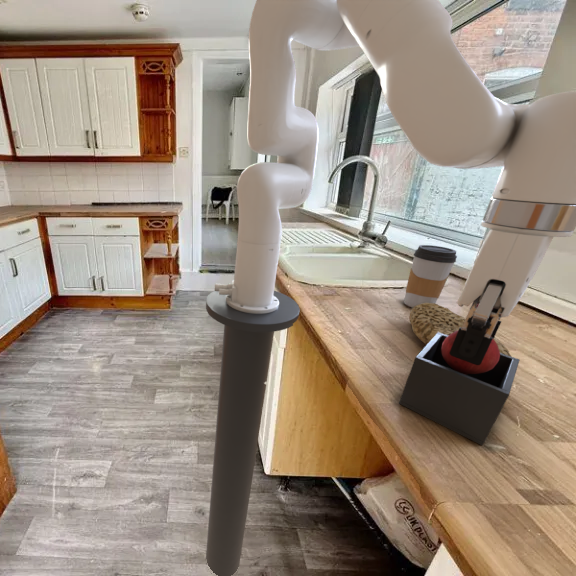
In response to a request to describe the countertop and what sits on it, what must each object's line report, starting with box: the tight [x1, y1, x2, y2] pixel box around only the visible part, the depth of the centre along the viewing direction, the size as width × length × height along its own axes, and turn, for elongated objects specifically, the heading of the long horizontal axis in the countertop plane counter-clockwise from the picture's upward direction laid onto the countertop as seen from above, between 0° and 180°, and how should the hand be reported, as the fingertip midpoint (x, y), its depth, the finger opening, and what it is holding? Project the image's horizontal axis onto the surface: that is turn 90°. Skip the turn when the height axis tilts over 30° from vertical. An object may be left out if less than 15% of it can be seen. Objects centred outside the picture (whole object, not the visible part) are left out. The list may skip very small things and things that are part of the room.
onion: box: [442, 330, 500, 375], centre depth 42 cm, size 6×6×8 cm
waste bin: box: [398, 332, 520, 446], centre depth 44 cm, size 11×9×8 cm
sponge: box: [409, 303, 512, 357], centre depth 58 cm, size 13×8×20 cm
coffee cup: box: [403, 244, 458, 309], centre depth 76 cm, size 8×8×15 cm
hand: (470, 349), depth 42 cm, fingers open, 6 cm apart
